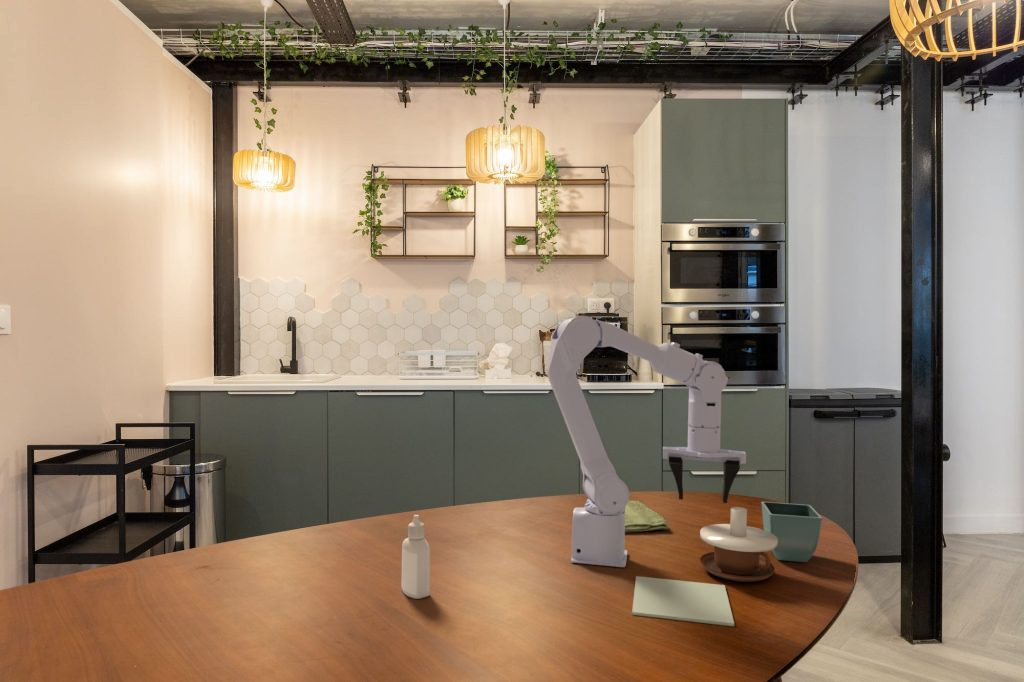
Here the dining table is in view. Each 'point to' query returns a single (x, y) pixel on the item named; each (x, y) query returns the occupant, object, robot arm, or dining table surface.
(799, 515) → the flower pot
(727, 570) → the cup and saucer
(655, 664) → the dining table surface
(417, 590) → the eye dropper bottle
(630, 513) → the washcloth
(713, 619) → the plate
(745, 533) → the lid
